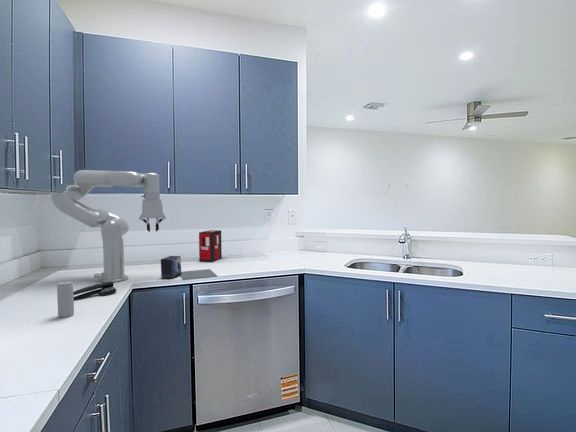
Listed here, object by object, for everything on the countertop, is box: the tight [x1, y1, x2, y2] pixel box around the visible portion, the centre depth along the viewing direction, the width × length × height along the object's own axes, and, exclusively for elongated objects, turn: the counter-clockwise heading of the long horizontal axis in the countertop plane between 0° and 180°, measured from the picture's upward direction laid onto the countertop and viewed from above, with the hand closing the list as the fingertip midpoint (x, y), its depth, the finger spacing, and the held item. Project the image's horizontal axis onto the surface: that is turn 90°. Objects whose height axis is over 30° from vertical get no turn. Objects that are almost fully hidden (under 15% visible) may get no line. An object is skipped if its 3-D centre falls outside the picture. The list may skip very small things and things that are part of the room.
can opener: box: [73, 281, 117, 301], centre depth 147 cm, size 18×7×6 cm, turn 137°
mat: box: [179, 268, 218, 281], centre depth 189 cm, size 18×20×1 cm
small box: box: [160, 255, 182, 280], centre depth 183 cm, size 11×6×10 cm, turn 168°
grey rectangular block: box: [56, 280, 75, 318], centre depth 121 cm, size 5×5×12 cm
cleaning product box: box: [198, 229, 223, 264], centre depth 234 cm, size 16×9×20 cm, turn 168°
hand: (152, 231), depth 178 cm, fingers open, 3 cm apart
